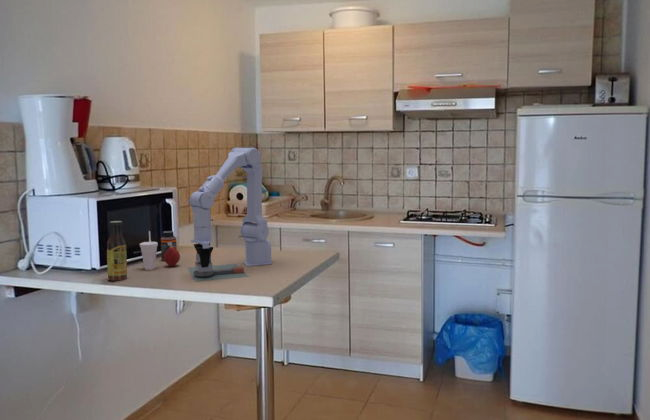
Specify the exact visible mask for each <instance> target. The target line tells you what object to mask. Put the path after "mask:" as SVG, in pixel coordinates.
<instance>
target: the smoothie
mask: <svg viewBox="0 0 650 420" xmlns="http://www.w3.org/2000/svg"><path fill="white" fill-rule="evenodd" d="M151 236H152V235H151V231H150V230H148V241H143V242H141V243H139V248H140V251H141V256H142V257H141V258H142V261H143V266H144V270H146V271H147V270H148V271H152V270H156V264H157V263H156V262H157V253H158V252H157V251H158V246H159V244H158V243H159V242H157V241H152V240H151Z"/></svg>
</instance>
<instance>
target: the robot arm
mask: <svg viewBox="0 0 650 420" xmlns="http://www.w3.org/2000/svg"><path fill="white" fill-rule="evenodd" d="M227 155H228V157H227V158H226V160H225V161H224V162H223V164H222V165H221V166H220V168H219V170H218V171H217V172H216V174H215V175H213V174H211V175H210V176H209V175H208V176H207V177H206V180H205V182H204V183H203V184H202V185H201V186H199V188H198V190H197V191H194V192H192V193H191V195H190V197H189V199H188V203H189V205H190V207H191V211H192V214H193V215H192V217H193V219H192V220H193V238H192V239H190V243H193V244H192V245H193V246H194V249H195V251H196V254H197V253H199V257H200V262H201V266H202V268H204V267H208V266H209V260H210V255H211V256H212V252H213V250H214V246H211V243H212V241H213V238H212V221H211V220H212V219H211V208H212V207H213V205H214V203H215V199H216V196H217V195H218V194H219V192H221V190H222V189H223V188H224V186H225V184H224V183H225V182H224V181H225V180H226V179H228V177H230V175H231V174H232V173H233V172H234V171H235V170H236V169H237V168H241V169H242V170H243V171H245V173H246V215H245V216H244V217H242V223H241V226H240V230H239V231H240V235H241V237H243V240H244V242H245V243H244V245H245V246H244V247H245V260H243V261H242V262H243V263H244V265H245V266H246V267H250V266H251V267H252V266H262V265H263V266H265V265H272V243H271V241H270V240H269V239H267V238H268V236H269V234H270V233H269V232H270V229H269V226H268V219H266V218H265V217H264V216H263V214H262V208H263V207H262V202H263V201H262V200H263V199H262V198H263V195H262V194H263V185H262V184H263V166H262V163H261V161H262V153H261V152H260V151H259V150H258V149H257V148H256V147H237V146H236V147H233V148H232V149H231V151H230V152H229V153H228V154H227Z"/></svg>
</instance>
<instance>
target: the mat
mask: <svg viewBox="0 0 650 420" xmlns="http://www.w3.org/2000/svg"><path fill="white" fill-rule="evenodd" d="M232 267H240V266H239V265H238V264H237V263H226V264H216V265H212V269H213V270H222V269H232ZM187 269H188V271H189V273H190V275H191V277H192V279H193V280H194V282H207V281H216V280H217V281H218V280H227V279H237V278H238V279H239V278H247V277H249V275H248V274H247V273H246V272H245V271H244V273H239V274H226V275H215V276H213V277H210V278H195V277H194V271H196V267H195V266H194V267H193V266H192V267H187Z"/></svg>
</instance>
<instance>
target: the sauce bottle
mask: <svg viewBox="0 0 650 420" xmlns="http://www.w3.org/2000/svg"><path fill="white" fill-rule="evenodd" d="M109 229H110V233H109V234H110V235H109V237H108V239H107V241H106V262H107V264H106V265H107V268H106V269H107V279H108V281H112V282H115V281H116V282H119V281H124V280H126V279H127V278H128V276H127V275H128V261H127V259H128V258H127V257H128V256H127V244H126V241H125V238H124V235H123V221H122V220H113V221H109Z"/></svg>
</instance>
